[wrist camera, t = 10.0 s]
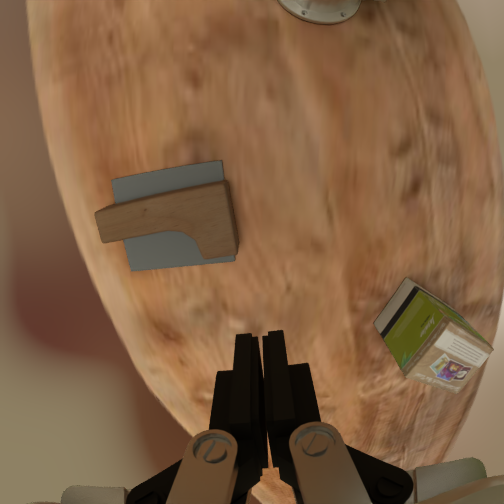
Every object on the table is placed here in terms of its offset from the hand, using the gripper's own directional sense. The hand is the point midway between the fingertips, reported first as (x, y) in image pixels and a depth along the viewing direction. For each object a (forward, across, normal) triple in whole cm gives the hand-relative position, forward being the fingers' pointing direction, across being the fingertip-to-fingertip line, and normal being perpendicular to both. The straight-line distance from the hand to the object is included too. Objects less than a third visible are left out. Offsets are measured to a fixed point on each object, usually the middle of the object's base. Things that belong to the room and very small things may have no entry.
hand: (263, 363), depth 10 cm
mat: (+31, +12, +1) cm, 33 cm away
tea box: (+31, -26, +22) cm, 46 cm away
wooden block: (+28, +3, +1) cm, 28 cm away
